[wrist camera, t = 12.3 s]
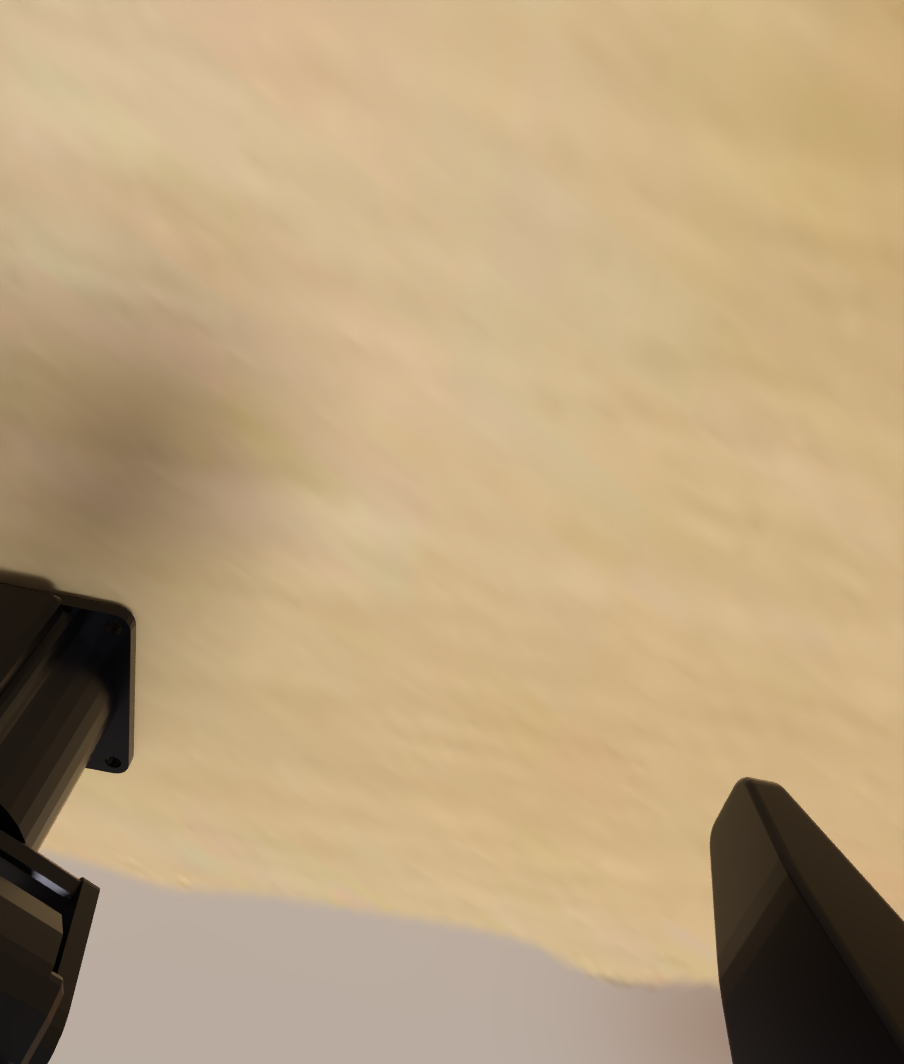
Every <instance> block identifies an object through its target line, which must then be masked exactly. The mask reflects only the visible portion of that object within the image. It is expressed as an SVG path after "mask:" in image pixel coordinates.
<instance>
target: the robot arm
mask: <svg viewBox="0 0 904 1064" xmlns="http://www.w3.org/2000/svg"><path fill="white" fill-rule="evenodd" d="M111 621H114V622H116V623H118V624H119V625H120V626H121V627H117V626H115V625H114V624H113V623H112V622H111ZM135 652H136V621H135V618H134V616H133V615H132V613H131V612H129V611H128V610H126V609H125V608H122V607H119V606H114V605H109V604H104V603H99V602H94V601H89V600H84V599H79V598H74V597H69V596H64V595H59V594H54V593H49V592H44V591H39V590H34V589H29V588H24V587H19V586H14V585H9V584H4V583H0V1064H47V1063H48V1062H49V1060H50V1058H51V1056H52V1054H53V1053H54V1050H55V1048H56V1046H57V1044H58V1041H59V1039H60V1037H61V1035H62V1032H63V1030H64V1027H65V1023H66V1020H67V1017H68V1014H69V1010H70V1007H71V1002H72V999H73V995H74V991H75V986H76V983H77V979H78V975H79V971H80V967H81V963H82V959H83V955H84V951H85V947H86V943H87V939H88V935H89V931H90V927H91V923H92V919H93V915H94V912H95V908H96V904H97V900H98V895H99V892H100V888H99V887H97V886H96V885H94V884H93V883H91V882H90V881H88V880H86V879H85V878H83V877H82V878H80V879H78V878H76V877H75V876H73V875H72V874H70V873H69V872H67V871H66V870H64V869H62V868H61V867H60V866H58V865H57V864H55V863H53V862H52V861H50V860H49V859H47V858H46V857H44V856H43V855H41V854H40V853H38V850H39V848H40V846H41V845H42V843H43V841H44V839H45V838H46V836H47V834H48V832H49V830H50V829H51V827H52V825H53V823H54V822H55V820H56V818H57V816H58V815H59V813H60V811H61V809H62V807H63V806H64V804H65V802H66V800H67V799H68V797H69V795H70V793H71V792H72V790H73V788H74V786H75V784H76V783H77V781H78V779H79V777H80V776H81V774H82V772H83V770H84V769H85V768H89V769H94V770H100V771H105V772H110V773H122V772H125V771H126V770H127V769H128V767H129V765H130V763H131V761H132V759H133V754H134V703H135ZM115 757H116V758H115ZM710 857H711V873H712V888H713V904H714V920H715V935H716V951H717V964H718V975H719V984H720V991H721V998H722V1005H723V1010H724V1016H725V1022H726V1028H727V1033H728V1039H729V1045H730V1050H731V1056H732V1062H733V1064H904V921H903V920H902V919H901V918H900V917H899V915H898V914H897V913H896V912H895V911H894V910H893V909H892V908H891V907H890V905H889V904H888V903H887V902H886V901H885V900H884V899H883V898H882V897H881V895H880V894H879V893H878V892H877V891H876V890H875V889H874V888H873V887H872V885H871V884H870V883H869V882H868V881H867V880H866V879H865V878H864V877H863V875H862V874H861V873H860V872H859V871H858V870H857V869H856V868H855V867H854V866H853V864H852V863H851V862H850V861H849V860H848V859H847V858H846V857H845V856H844V854H843V853H842V852H841V851H840V850H839V849H838V848H837V847H836V846H835V844H834V843H833V842H832V841H831V840H830V839H829V838H828V837H827V836H826V834H825V833H824V832H823V831H822V830H821V829H820V828H819V827H818V826H817V824H816V823H815V822H814V821H813V820H812V819H811V818H810V817H809V816H808V814H807V813H806V812H805V811H804V810H803V809H802V808H801V807H800V806H799V804H798V803H797V802H796V801H795V800H794V799H793V798H792V797H791V796H790V794H789V793H788V792H787V791H786V790H785V789H784V788H783V787H782V786H780V785H779V784H777V783H774V782H770V781H765V780H760V779H755V778H750V777H745V778H742V779H740V780H739V781H738V782H737V783H736V784H735V786H734V788H733V789H732V791H731V793H730V795H729V797H728V799H727V800H726V802H725V804H724V806H723V808H722V810H721V811H720V813H719V815H718V817H717V819H716V821H715V823H714V825H713V828H712V831H711V836H710Z"/></svg>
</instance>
